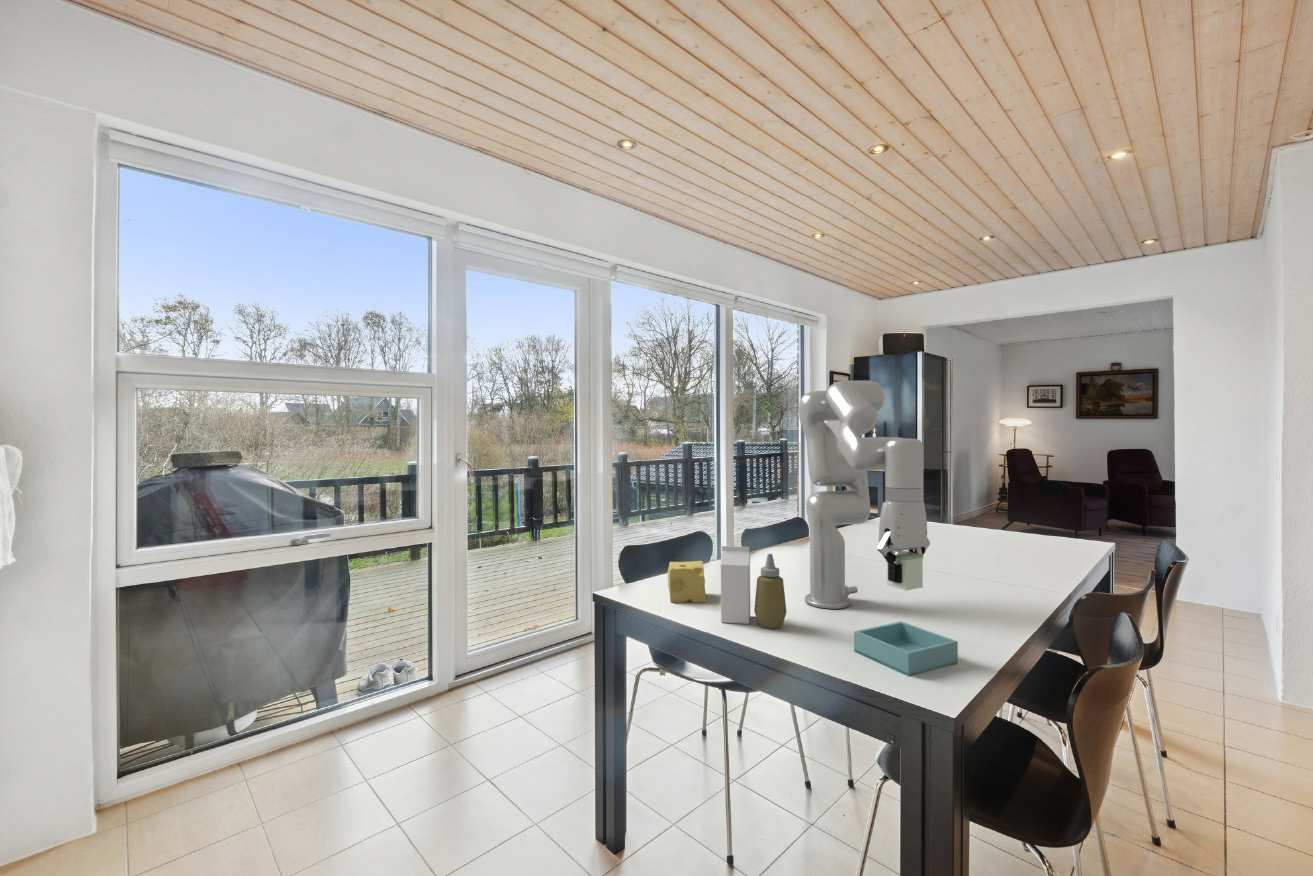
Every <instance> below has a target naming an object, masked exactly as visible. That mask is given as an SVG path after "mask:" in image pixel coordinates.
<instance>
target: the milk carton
mask: <svg viewBox="0 0 1313 876" xmlns="http://www.w3.org/2000/svg"><path fill="white" fill-rule="evenodd" d="M750 556H751V555H750V546H732V545H731V546H728V545H722V546H721V555H720V622H721V623H729V624H730V623H731V624H745V625H746V624H747V625H749V624H750V620H751V557H750Z"/></svg>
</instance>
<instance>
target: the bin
mask: <svg viewBox="0 0 1313 876" xmlns="http://www.w3.org/2000/svg"><path fill="white" fill-rule="evenodd" d="M958 642H959V641H958V640H954V639H952V638H949V637H946V636H943V635H942V634H938V633H935V632H932V631H930V630H927V629H924V628H921V627H918V626H915V625H913V624H909V623H907V622H904V621H897V622H892V623H887V624H882V625H877V626H873V627H869V628H868V627H867V628H863V629H859V630H854V631H853V652H854V653H857V654H859V655H861V656H863V657H866V658H868V659H869V660H872V661H874V662H876V663H879V664H881V665H883V666H885V667H888V668H890V669H892V670H894V671H895V672H899V673H901V674H903V675H906V676H907V677H910V676H913V675H917V674H921V673H924V672H928V671H933V670H936V669H939V668H943V667H946V666H950V665H954V664H958V661H959V659H958V658H959V657H958V656H959V655H958V654H959V653H958V651H959V647H958V645H959V644H958Z"/></svg>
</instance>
